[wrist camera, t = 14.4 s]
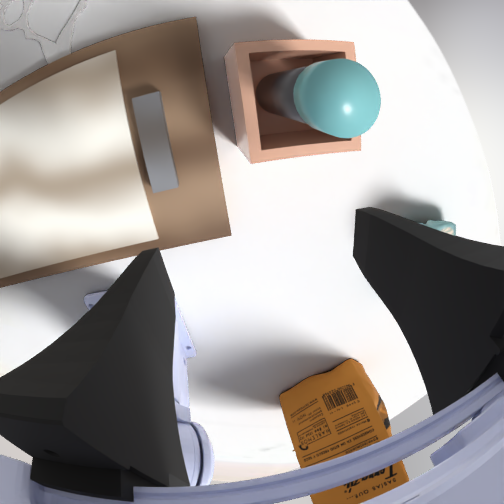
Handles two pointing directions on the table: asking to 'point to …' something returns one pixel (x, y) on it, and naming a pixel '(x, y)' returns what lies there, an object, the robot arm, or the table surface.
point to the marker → (324, 96)
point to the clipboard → (109, 155)
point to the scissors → (48, 47)
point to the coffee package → (340, 428)
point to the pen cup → (270, 125)
